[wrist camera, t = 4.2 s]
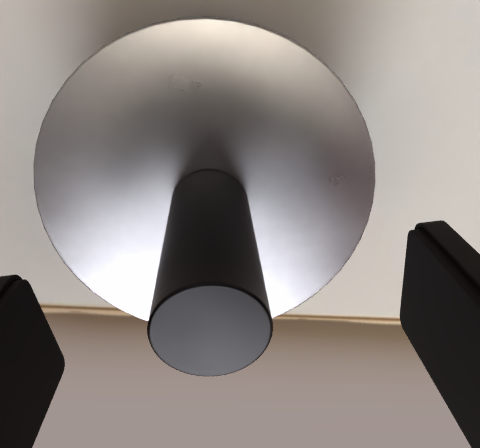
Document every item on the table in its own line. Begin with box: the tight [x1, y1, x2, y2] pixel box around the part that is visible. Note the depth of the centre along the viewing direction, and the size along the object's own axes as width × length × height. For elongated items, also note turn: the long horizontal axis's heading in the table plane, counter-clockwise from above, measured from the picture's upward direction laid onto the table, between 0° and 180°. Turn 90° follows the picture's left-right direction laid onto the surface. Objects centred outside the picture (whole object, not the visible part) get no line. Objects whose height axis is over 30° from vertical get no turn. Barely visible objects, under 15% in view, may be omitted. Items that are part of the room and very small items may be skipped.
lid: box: [34, 17, 375, 376], centre depth 12 cm, size 12×12×8 cm
